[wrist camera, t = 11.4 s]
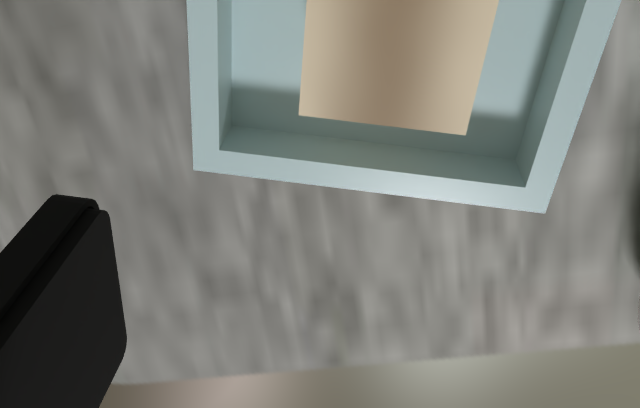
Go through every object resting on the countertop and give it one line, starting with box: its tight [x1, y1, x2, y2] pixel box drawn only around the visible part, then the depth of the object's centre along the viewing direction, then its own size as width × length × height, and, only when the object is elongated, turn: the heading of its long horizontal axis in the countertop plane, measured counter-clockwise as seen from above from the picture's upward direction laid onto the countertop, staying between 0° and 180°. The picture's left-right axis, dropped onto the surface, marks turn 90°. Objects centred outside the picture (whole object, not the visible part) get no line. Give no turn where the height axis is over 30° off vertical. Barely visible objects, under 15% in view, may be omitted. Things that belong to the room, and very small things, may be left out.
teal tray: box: [187, 0, 621, 213], centre depth 24 cm, size 16×16×4 cm
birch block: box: [299, 0, 499, 135], centre depth 22 cm, size 6×6×6 cm
